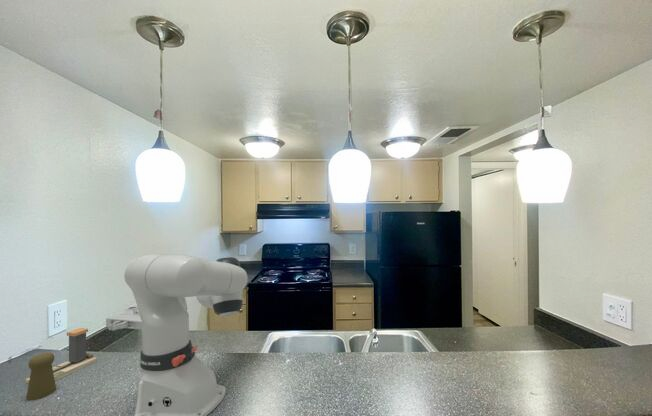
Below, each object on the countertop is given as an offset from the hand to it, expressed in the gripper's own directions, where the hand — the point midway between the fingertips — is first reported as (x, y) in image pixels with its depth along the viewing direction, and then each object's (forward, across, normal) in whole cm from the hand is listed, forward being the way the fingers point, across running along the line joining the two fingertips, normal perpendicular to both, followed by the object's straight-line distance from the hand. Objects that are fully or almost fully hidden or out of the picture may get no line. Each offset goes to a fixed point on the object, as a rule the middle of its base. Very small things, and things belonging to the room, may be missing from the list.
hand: (111, 328), depth 105 cm
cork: (+25, -8, -8) cm, 28 cm away
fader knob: (+11, 0, -6) cm, 13 cm away
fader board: (+15, 0, -8) cm, 17 cm away
